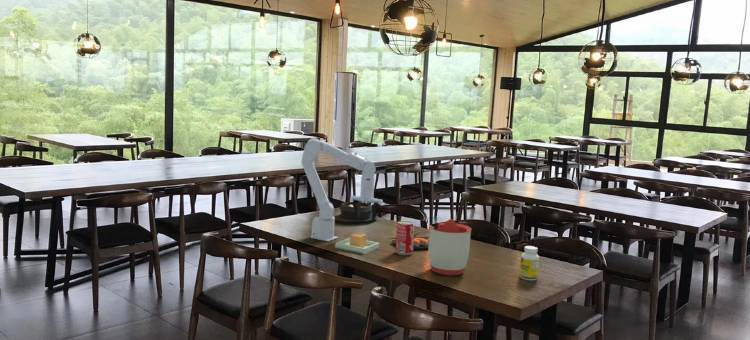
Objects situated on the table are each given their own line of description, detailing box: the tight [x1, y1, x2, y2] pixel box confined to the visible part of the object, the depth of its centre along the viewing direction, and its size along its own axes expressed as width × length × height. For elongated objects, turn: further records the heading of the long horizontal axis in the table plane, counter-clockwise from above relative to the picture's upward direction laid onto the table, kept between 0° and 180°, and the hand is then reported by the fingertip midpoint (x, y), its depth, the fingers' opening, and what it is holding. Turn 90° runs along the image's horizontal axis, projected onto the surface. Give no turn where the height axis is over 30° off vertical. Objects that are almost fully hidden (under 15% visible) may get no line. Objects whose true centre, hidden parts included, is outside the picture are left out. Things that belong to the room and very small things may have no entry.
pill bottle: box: [519, 245, 540, 281], centre depth 221 cm, size 6×6×12 cm
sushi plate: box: [391, 231, 429, 250], centre depth 267 cm, size 29×30×4 cm
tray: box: [334, 237, 380, 255], centre depth 250 cm, size 14×12×2 cm
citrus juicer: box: [425, 218, 473, 277], centre depth 224 cm, size 16×17×20 cm
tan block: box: [349, 232, 368, 248], centre depth 250 cm, size 5×5×5 cm
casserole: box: [333, 201, 379, 224], centre depth 300 cm, size 25×19×8 cm
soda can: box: [395, 220, 415, 256], centre depth 245 cm, size 7×7×13 cm
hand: (365, 218), depth 263 cm, fingers open, 7 cm apart
